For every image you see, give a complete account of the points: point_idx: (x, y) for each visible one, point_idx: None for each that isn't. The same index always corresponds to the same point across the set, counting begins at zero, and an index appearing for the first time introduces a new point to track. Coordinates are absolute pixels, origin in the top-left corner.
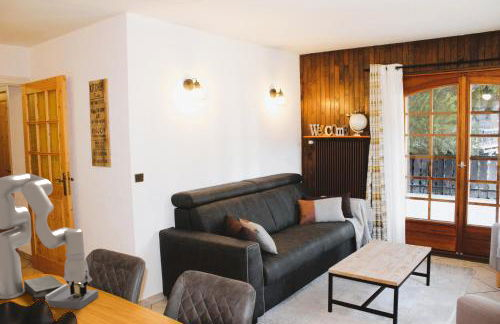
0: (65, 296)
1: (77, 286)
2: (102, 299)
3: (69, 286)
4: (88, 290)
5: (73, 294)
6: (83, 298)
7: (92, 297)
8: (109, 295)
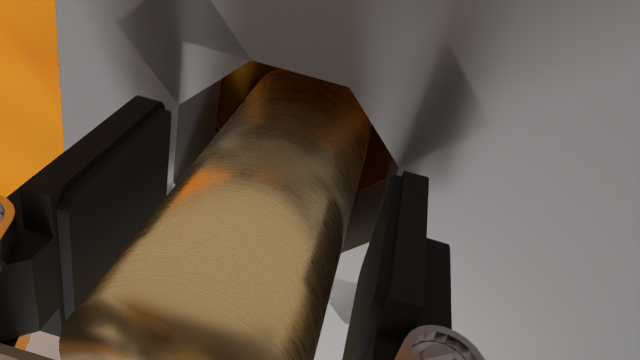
0: (554, 172)
1: (150, 251)
2: (15, 159)
3: (450, 329)
4: None
5: None
6: (111, 28)
7: None
8: None
